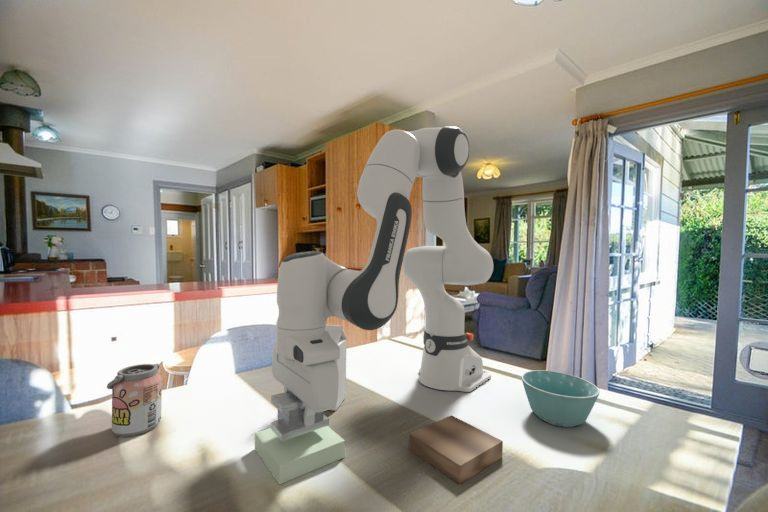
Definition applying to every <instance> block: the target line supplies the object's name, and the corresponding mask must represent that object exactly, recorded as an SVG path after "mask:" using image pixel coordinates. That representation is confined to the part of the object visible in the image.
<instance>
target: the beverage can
mask: <svg viewBox="0 0 768 512" xmlns="http://www.w3.org/2000/svg"><path fill="white" fill-rule="evenodd" d="M159 368H160V364H159V363H155V364H154V363H153V364H152V363H144V364H143V363H142V364H134V365H131V366H126V367H124V368H122V369H120V370H118V371H117V373H116V376H115V377H114V379H112V380H111V381H110V382H109V383H107V385H106V389H108V390H111V396H112V397H111V430H112V431H111V432H112V433H113V434H114V435H116V436H117V437H121V438H122V437H123V438H127V437H136V436H139V435H144V434H146V433H148V432H150V431H152V430H153V429H155V428H156V427H157V426H158V425H159V424H160V423H161V420H162V388H163V387H162V386H163V385H162V381H163V378H162V376H161V375H160V373H158V370H159Z"/></svg>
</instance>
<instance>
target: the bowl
mask: <svg viewBox="0 0 768 512" xmlns="http://www.w3.org/2000/svg"><path fill="white" fill-rule="evenodd" d="M521 380H522V381H521V382H522V384H523V387H524V388H523V389H524V391H525V395H526V397H527V401H528V404H529V407H530V409H531V411H532V412H533V413H534V414H535V415H536V416H537V417H538V418H539V419H541V420H542V421H543V420H544V421H543V422H545V421H546V422H545V423H547V422H548V423H547V424H551V425H553V426H556V425H557V426H556V427H561V426H563V427H562V428H575V427H577V425H578V426H581V425H582V424H584V423H585V422H586V421H587V419H588V418H589V415H590V414H591V412H592V410H593V408H594V406H595V404H596V402H597V399H598V397H599V395H600V389H599V388H598V386H596V385H595V384H594V383H592V382H590V381H589V380H587V379H584V378H581V377H579V376H576V375H573V374H569V373H565V372H560V371H555V370H554V371H553V370H544V369H542V370H541V369H537V370H528V371H526V372H524V373H522V375H521ZM574 426H575V427H574Z"/></svg>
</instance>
